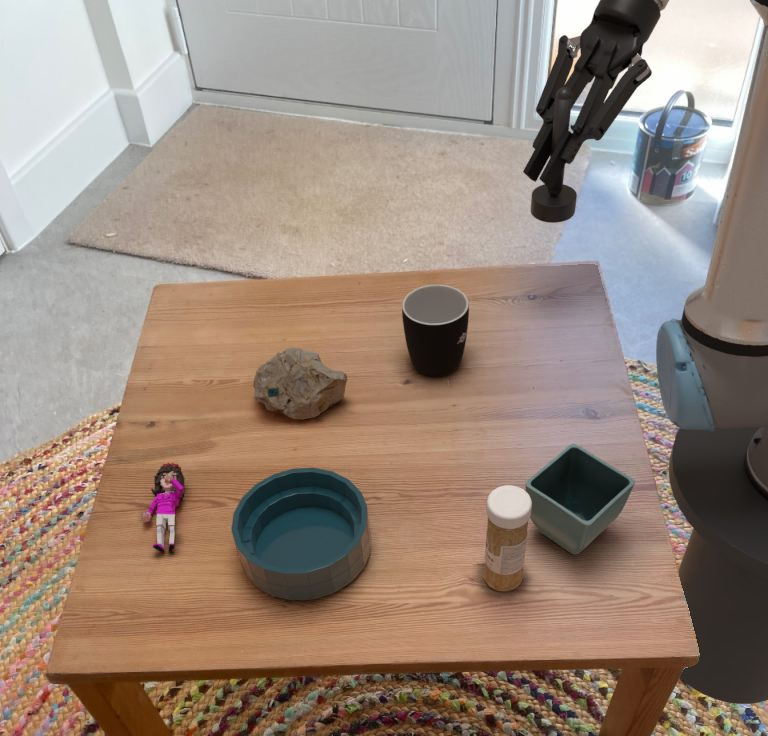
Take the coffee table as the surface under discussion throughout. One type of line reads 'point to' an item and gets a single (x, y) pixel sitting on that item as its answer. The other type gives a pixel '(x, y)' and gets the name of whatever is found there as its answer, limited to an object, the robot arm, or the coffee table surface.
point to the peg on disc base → (561, 197)
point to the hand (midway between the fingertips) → (537, 180)
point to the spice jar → (506, 537)
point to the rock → (298, 384)
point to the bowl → (302, 533)
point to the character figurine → (166, 502)
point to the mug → (435, 328)
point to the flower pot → (577, 497)
